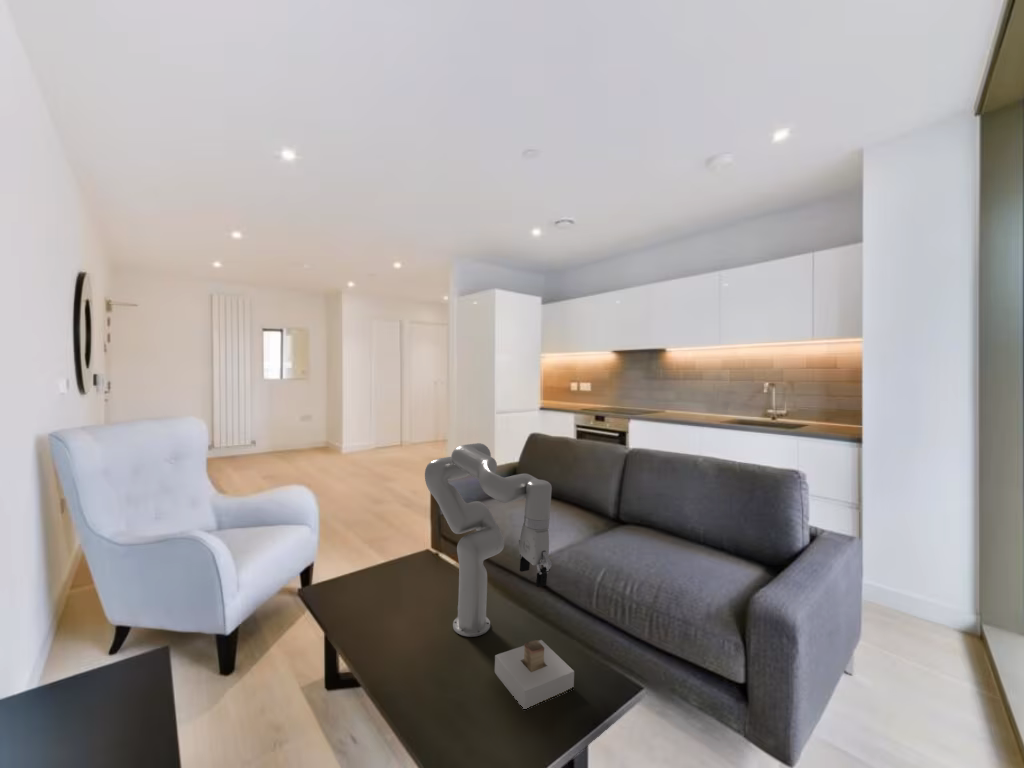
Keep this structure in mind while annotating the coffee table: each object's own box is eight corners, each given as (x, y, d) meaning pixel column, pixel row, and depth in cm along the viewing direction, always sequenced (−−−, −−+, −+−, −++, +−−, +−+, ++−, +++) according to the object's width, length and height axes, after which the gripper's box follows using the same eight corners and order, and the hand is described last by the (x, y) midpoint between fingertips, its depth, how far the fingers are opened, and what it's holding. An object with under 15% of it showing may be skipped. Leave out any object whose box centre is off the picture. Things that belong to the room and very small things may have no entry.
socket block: (494, 672, 124) (495, 655, 124) (540, 655, 132) (541, 639, 132) (524, 710, 110) (524, 691, 110) (573, 689, 118) (574, 671, 118)
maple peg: (523, 678, 122) (524, 643, 122) (535, 674, 124) (536, 639, 124) (530, 687, 118) (531, 651, 118) (542, 683, 120) (544, 647, 120)
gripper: (511, 513, 135) (508, 567, 135) (541, 534, 119) (536, 594, 120) (532, 511, 138) (528, 563, 139) (563, 531, 123) (559, 589, 124)
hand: (532, 578), depth 130 cm, fingers open, 9 cm apart
